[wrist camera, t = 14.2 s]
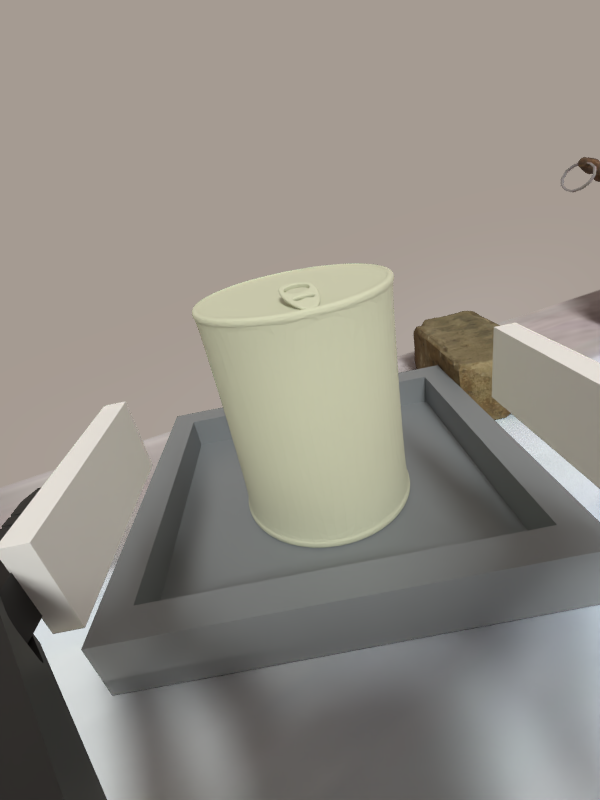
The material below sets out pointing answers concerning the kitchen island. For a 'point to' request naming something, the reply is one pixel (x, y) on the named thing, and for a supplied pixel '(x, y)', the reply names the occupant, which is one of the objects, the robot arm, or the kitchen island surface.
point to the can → (312, 399)
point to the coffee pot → (588, 167)
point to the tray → (339, 554)
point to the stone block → (461, 354)
